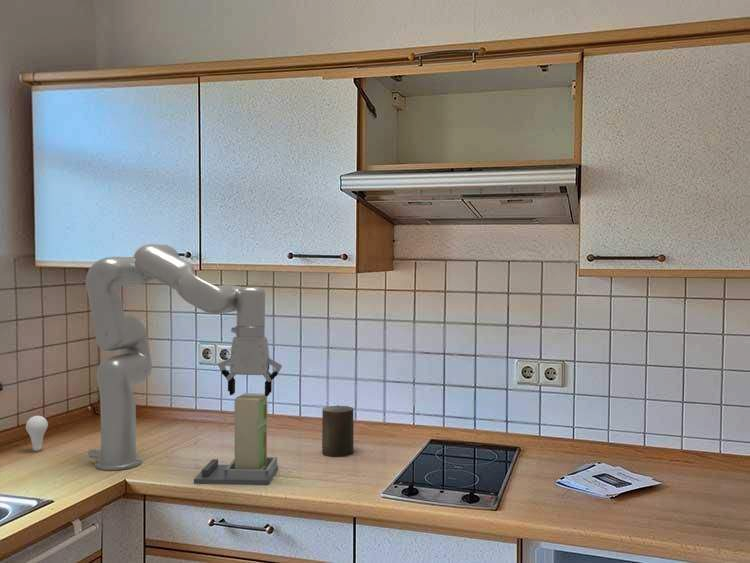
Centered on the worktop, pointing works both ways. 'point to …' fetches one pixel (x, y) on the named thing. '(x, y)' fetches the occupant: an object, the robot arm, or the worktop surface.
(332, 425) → the pillar candle
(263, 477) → the tray
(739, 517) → the worktop surface
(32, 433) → the lightbulb
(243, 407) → the beige tall block
